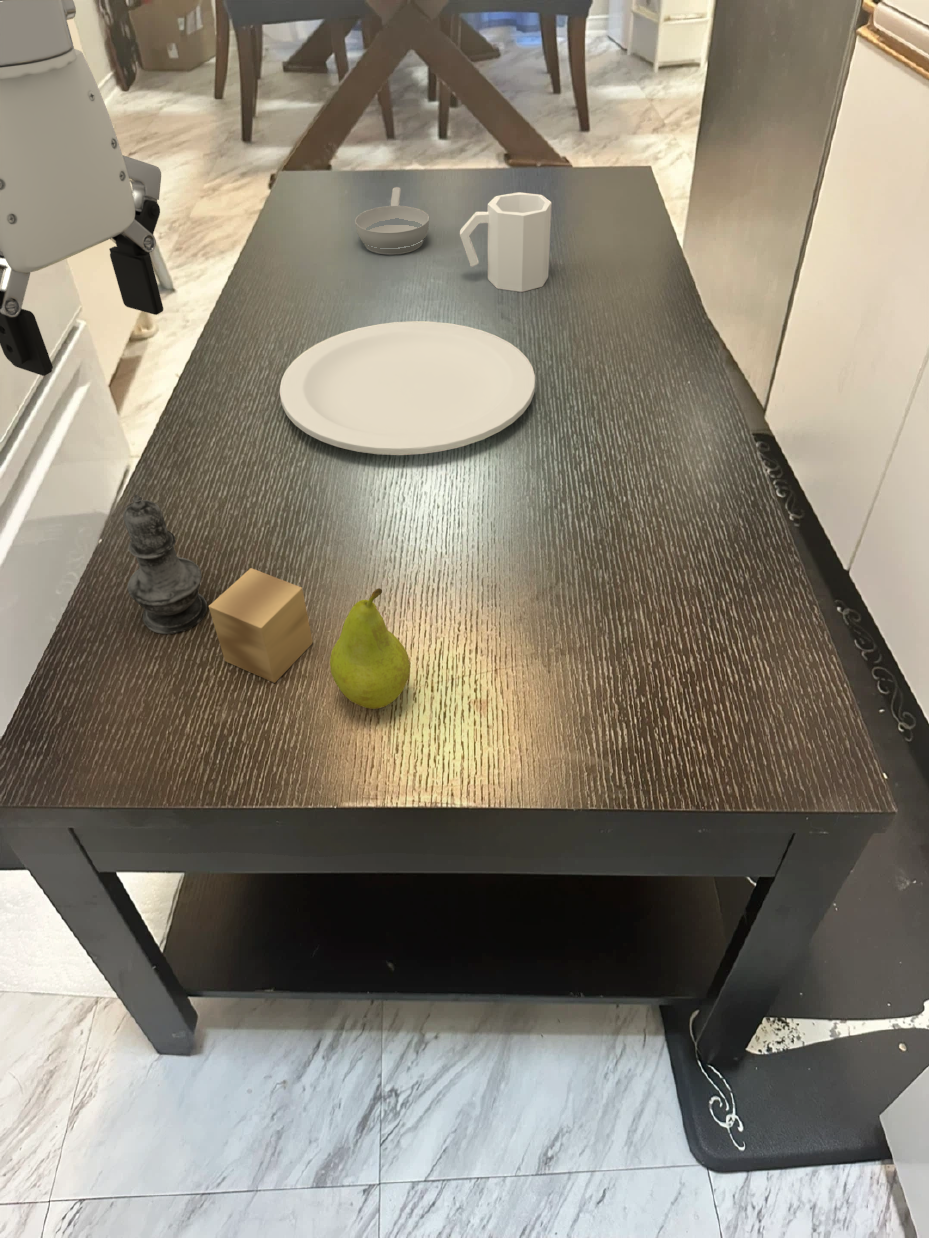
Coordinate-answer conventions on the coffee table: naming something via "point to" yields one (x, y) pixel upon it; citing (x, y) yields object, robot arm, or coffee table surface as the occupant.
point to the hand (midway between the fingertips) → (91, 338)
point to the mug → (514, 240)
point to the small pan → (392, 227)
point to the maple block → (262, 624)
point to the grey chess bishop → (161, 572)
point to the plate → (407, 388)
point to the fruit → (369, 658)
